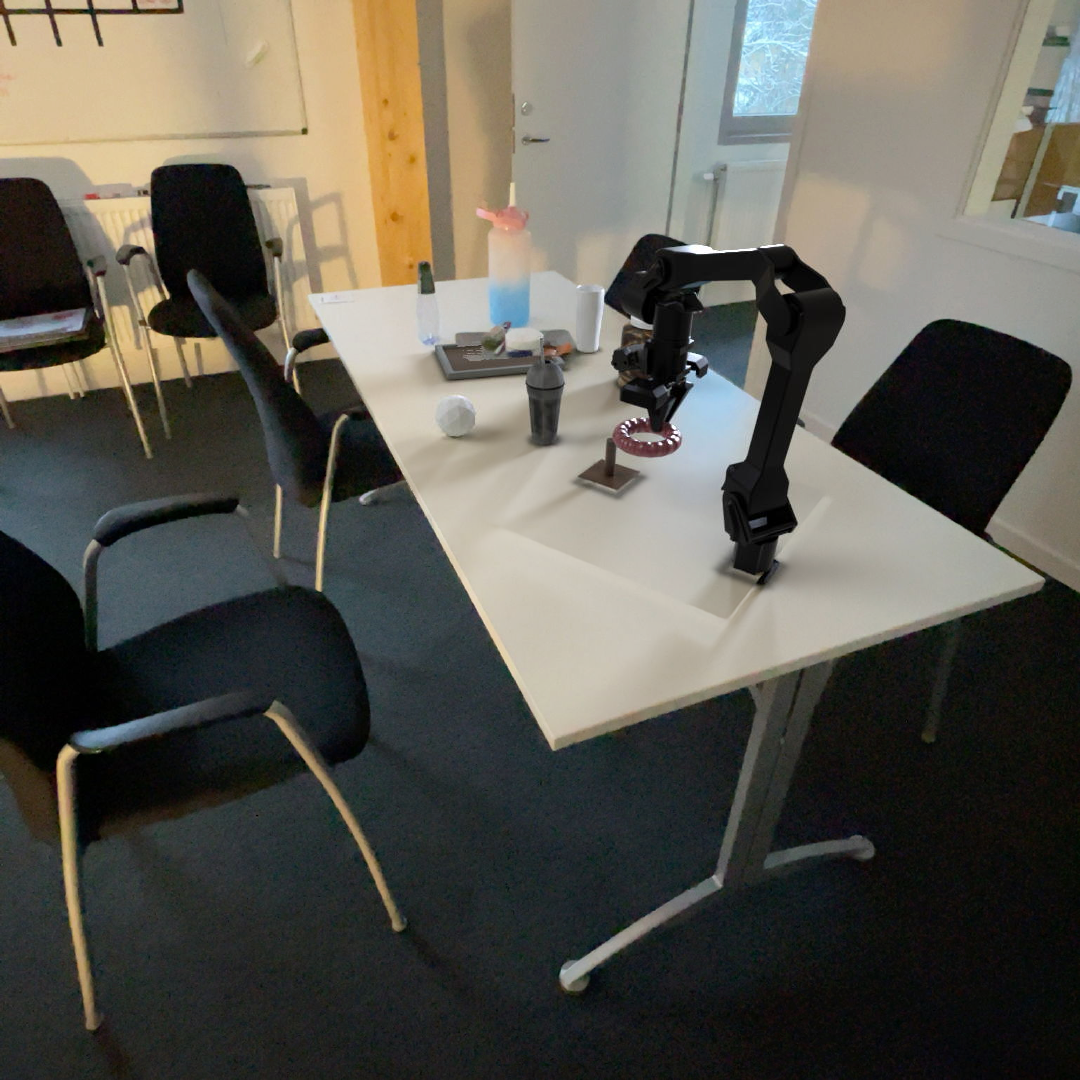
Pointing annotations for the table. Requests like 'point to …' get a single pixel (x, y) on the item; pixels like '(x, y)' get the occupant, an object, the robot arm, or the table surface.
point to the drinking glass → (588, 316)
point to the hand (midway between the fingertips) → (659, 428)
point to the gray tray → (483, 363)
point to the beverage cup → (544, 398)
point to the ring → (642, 447)
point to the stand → (609, 470)
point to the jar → (634, 335)
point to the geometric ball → (455, 415)
